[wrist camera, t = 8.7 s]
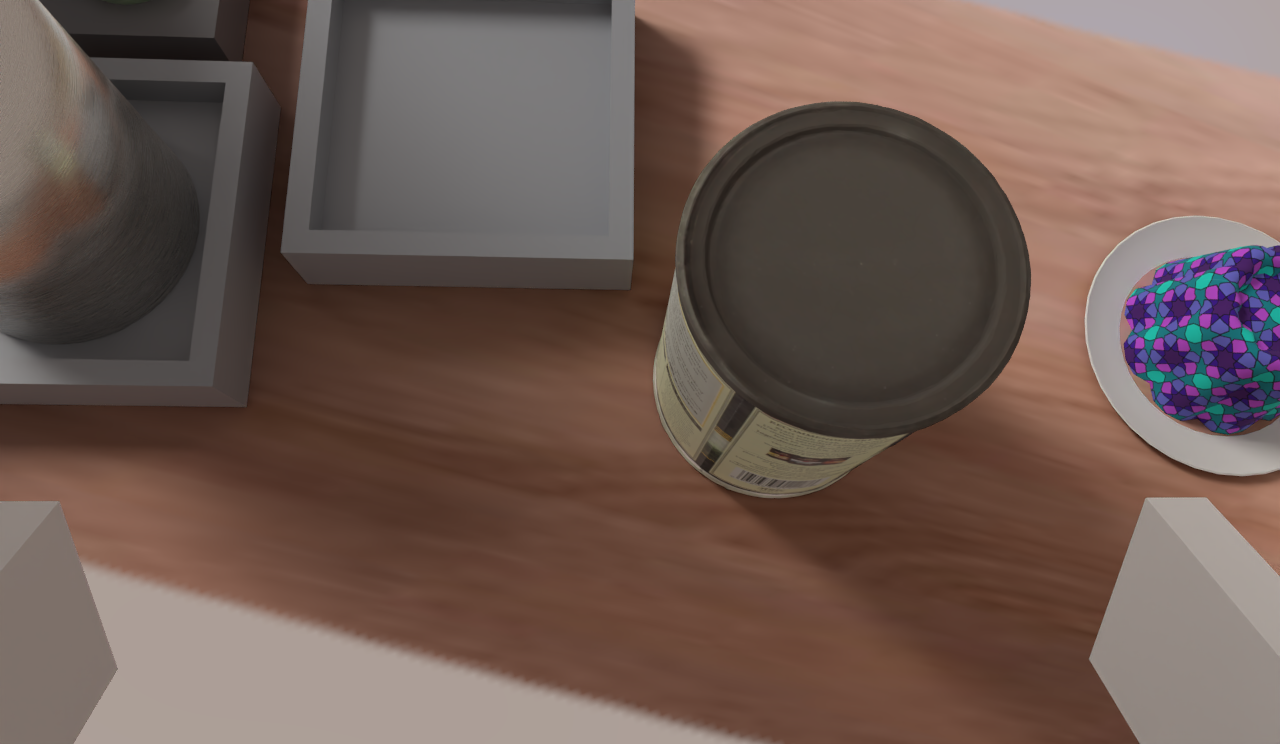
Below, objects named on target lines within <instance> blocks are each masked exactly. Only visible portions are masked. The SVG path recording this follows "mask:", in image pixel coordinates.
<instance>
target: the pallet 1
mask: <svg viewBox="0 0 1280 744" xmlns="http://www.w3.org/2000/svg"><path fill="white" fill-rule="evenodd" d="M90 59H91V60H92V61H93V62H94V63H95V64H96V65H97V67H98V68H99V69H100V70H101V71H102V72H103V73H104V74H105V76H106V77H107V78H108V79H109V80H110V81H111V82H112V83H113V85H114V86H115V87H116V88H117V89H118V90H119V91H120V92H121V94H122V95H123V96H124V97H125V98H126V99H127V100H128V102H129V103H130V104H131V105H132V106H133V107H134V108H135V109H136V111H137V112H138V113H139V114H140V115H141V116H142V117H143V118H144V120H145V121H146V122H147V123H148V124H149V125H150V126H151V128H152V129H153V130H154V131H155V132H156V133H157V134H158V135H159V137H160V138H161V139H162V140H163V141H164V142H165V143H166V144H167V146H168V147H169V148H170V149H171V150H172V151H173V152H174V154H175V155H176V156H177V157H178V158H179V160H180V161H181V162H182V164H183V165H184V166H185V168H186V170H187V171H188V173H189V175H190V177H191V179H192V182H193V184H194V187H195V189H196V193H197V198H198V203H199V214H200V222H199V233H198V238H197V242H196V246H195V250H194V252H193V255H192V257H191V260H190V263H189V264H188V266H187V268H186V270H185V272H184V274H183V276H182V277H181V279H180V280H179V281H178V283H177V284H176V286H175V287H174V288H173V290H172V291H171V292H170V293H169V294H168V295H167V296H166V297H165V298H164V300H163V301H162V302H161V303H159V304H158V305H157V306H156V307H155V308H154V309H153V310H151V311H150V312H149V313H148V314H146V315H145V316H143V317H142V318H140V319H139V320H137V321H136V322H134V323H133V324H131V325H129V326H127V327H125V328H123V329H121V330H119V331H117V332H114V333H112V334H109V335H107V336H104V337H101V338H97V339H93V340H90V341H86V342H79V343H72V344H44V343H35V342H30V341H26V340H22V339H18V338H16V337H13V336H10V335H8V334H5V333H3V332H1V331H0V404H43V405H119V406H195V407H247V401H248V392H249V383H250V374H251V365H252V357H253V348H254V339H255V330H256V322H257V313H258V304H259V295H260V286H261V278H262V269H263V260H264V251H265V243H266V234H267V225H268V216H269V208H270V199H271V190H272V181H273V172H274V164H275V155H276V146H277V137H278V129H279V120H280V111H281V107H280V105H279V104H278V102H277V100H276V99H275V97H274V95H273V94H272V92H271V91H270V89H269V87H268V86H267V84H266V83H265V81H264V79H263V78H262V76H261V74H260V73H259V71H258V70H257V68H256V66H255V65H254V63H253V62H234V61H199V60H164V59H129V58H94V57H90Z"/></svg>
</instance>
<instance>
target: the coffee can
mask: <svg viewBox="0 0 1280 744" xmlns="http://www.w3.org/2000/svg"><path fill="white" fill-rule="evenodd" d="M675 267H676V268H675V273H674V278H673V283H672V288H671V293H670V298H669V302H668V307H667V311H666V317H665V322H664V326H663V331H662V336H661V338H660V341H659V344H658V347H657V351H656V355H655V360H654V370H653V388H654V396H655V402H656V406H657V410H658V413H659V416H660V419H661V423H662V425H663V427H664V429H665V431H666V432H667V434H668V436H669V437H670V439H671V441H672V443H673V444H674V446H675V447H676V448H677V450H678V451H679V452H680V453H681V455H682V456H683V457H684V458H685V459H686V460H687V461H688V462H689V463H690V464H691V465H692V466H693V467H694V468H695V469H696V470H697V471H699V472H700V473H701V474H703V475H704V476H706V477H707V478H708V479H710V480H712V481H713V482H715V483H717V484H719V485H721V486H723V487H725V488H726V489H729V490H732V491H736V492H739V493H742V494H746V495H750V496H756V497H762V498H788V497H796V496H801V495H805V494H809V493H812V492H815V491H819V490H821V489H823V488H825V487H827V486H829V485H831V484H833V483H834V482H836V481H838V480H839V479H841V478H842V477H844V476H845V475H846V474H848V473H849V472H850V471H851V470H852V469H854V468H856V467H857V466H859V465H861V464H862V463H864V462H865V461H867V460H869V459H870V458H872V457H873V456H875V455H877V454H878V453H880V452H882V451H884V450H885V449H887V448H888V447H891V446H893V445H895V444H897V443H898V442H900V441H901V440H903V439H904V438H906V437H907V436H909V435H910V434H912V433H913V432H915V431H917V430H920V429H923V428H926V427H928V426H931V425H933V424H935V423H937V422H939V421H942V420H944V419H946V418H947V417H949V416H951V415H952V414H954V413H956V412H958V411H959V410H961V409H963V408H964V407H965V406H967V405H968V404H969V403H971V402H972V401H973V400H975V399H976V398H977V397H978V396H979V395H980V394H982V393H983V392H984V391H985V390H986V389H987V388H989V386H990V385H991V384H992V383H993V382H994V381H995V379H996V378H997V377H998V376H999V375H1000V373H1001V372H1002V370H1003V369H1004V367H1005V366H1006V364H1007V363H1008V362H1009V360H1010V358H1011V356H1012V354H1013V352H1014V350H1015V348H1016V346H1017V344H1018V342H1019V339H1020V336H1021V333H1022V330H1023V328H1024V324H1025V320H1026V316H1027V312H1028V306H1029V299H1030V287H1031V269H1030V262H1029V254H1028V249H1027V245H1026V241H1025V237H1024V234H1023V231H1022V229H1021V225H1020V222H1019V220H1018V218H1017V216H1016V214H1015V211H1014V209H1013V207H1012V205H1011V203H1010V202H1009V200H1008V198H1007V196H1006V194H1005V193H1004V191H1003V190H1002V189H1001V187H1000V186H999V184H998V182H997V181H996V179H995V178H994V176H993V175H992V174H991V173H990V172H989V170H988V169H987V168H986V167H985V166H984V165H983V164H982V163H981V162H980V161H979V160H978V159H977V158H976V157H975V156H974V155H973V154H972V153H971V152H970V151H969V150H968V149H967V148H966V147H964V146H963V145H962V144H961V143H959V142H958V141H957V140H955V139H954V138H952V137H951V136H950V135H948V134H946V133H945V132H943V131H941V130H940V129H938V128H936V127H934V126H933V125H931V124H929V123H927V122H925V121H923V120H922V119H920V118H917V117H915V116H912V115H909V114H906V113H904V112H901V111H898V110H895V109H891V108H886V107H882V106H878V105H873V104H866V103H860V102H822V103H814V104H809V105H804V106H799V107H795V108H791V109H787V110H784V111H781V112H778V113H776V114H774V115H771V116H769V117H767V118H765V119H763V120H761V121H759V122H757V123H755V124H753V125H751V126H750V127H748V128H747V129H745V130H744V131H742V132H741V133H739V134H738V135H736V136H735V137H734V138H733V139H732V140H730V141H729V142H728V143H727V144H726V145H725V146H724V147H723V148H721V149H720V150H719V151H718V153H717V154H716V155H715V156H714V157H713V158H712V160H711V161H710V162H709V163H708V164H707V166H706V167H705V168H704V169H703V171H702V172H701V174H700V176H699V177H698V179H697V181H696V182H695V184H694V186H693V188H692V190H691V192H690V195H689V197H688V199H687V202H686V204H685V206H684V210H683V213H682V217H681V221H680V226H679V231H678V235H677V243H676V255H675Z"/></svg>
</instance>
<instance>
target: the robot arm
mask: <svg viewBox="0 0 1280 744" xmlns="http://www.w3.org/2000/svg"><path fill="white" fill-rule="evenodd" d="M1089 660H1090V662H1091V663H1092V665H1093V667H1094V668H1095V670H1096V672H1097V673H1098V675H1099V677H1100V678H1101V680H1102V682H1103V683H1104V685H1105V687H1106V688H1107V690H1108V692H1109V693H1110V695H1111V697H1112V698H1113V700H1114V702H1115V703H1116V705H1117V707H1118V708H1119V710H1120V712H1121V713H1122V715H1123V717H1124V718H1125V720H1126V722H1127V723H1128V725H1129V727H1130V728H1131V730H1132V732H1133V733H1134V735H1135V737H1136V738H1137V740H1138V742H1139V743H1140V744H1280V576H1279V575H1278V574H1277V573H1276V572H1275V571H1274V570H1273V569H1272V568H1271V566H1270V565H1269V564H1268V563H1267V562H1266V561H1265V560H1264V559H1263V558H1262V557H1261V556H1260V555H1259V554H1258V553H1257V551H1256V550H1255V549H1254V548H1253V547H1252V546H1251V545H1250V544H1249V543H1248V542H1247V541H1246V540H1245V539H1244V538H1243V536H1242V535H1241V534H1240V533H1239V532H1238V531H1237V530H1236V529H1235V528H1234V527H1233V526H1232V525H1231V524H1230V523H1229V521H1228V520H1227V519H1226V518H1225V517H1224V516H1223V515H1222V514H1221V513H1220V512H1219V511H1218V510H1217V509H1216V507H1215V506H1214V505H1213V504H1212V503H1211V502H1210V501H1209V500H1208V499H1207V498H1206V497H1205V498H1146V499H1145V501H1144V504H1143V507H1142V510H1141V513H1140V516H1139V518H1138V521H1137V524H1136V527H1135V530H1134V533H1133V535H1132V538H1131V541H1130V544H1129V547H1128V550H1127V553H1126V555H1125V558H1124V561H1123V564H1122V567H1121V570H1120V572H1119V575H1118V578H1117V581H1116V584H1115V587H1114V589H1113V592H1112V595H1111V598H1110V601H1109V604H1108V606H1107V609H1106V612H1105V615H1104V618H1103V621H1102V623H1101V626H1100V629H1099V632H1098V635H1097V638H1096V640H1095V643H1094V646H1093V649H1092V652H1091V655H1090V658H1089ZM117 669H118V668H117V665H116V663H115V660H114V657H113V654H112V651H111V648H110V645H109V642H108V640H107V637H106V634H105V631H104V628H103V626H102V622H101V619H100V617H99V614H98V611H97V608H96V605H95V602H94V599H93V597H92V594H91V591H90V588H89V585H88V582H87V579H86V576H85V574H84V571H83V568H82V565H81V562H80V559H79V556H78V553H77V551H76V548H75V545H74V542H73V539H72V536H71V533H70V531H69V528H68V525H67V522H66V519H65V516H64V513H63V510H62V508H61V505H60V502H59V501H0V744H73V743H74V742H75V740H76V738H77V737H78V735H79V733H80V732H81V730H82V728H83V727H84V725H85V723H86V722H87V720H88V718H89V717H90V715H91V713H92V711H93V710H94V708H95V706H96V705H97V703H98V701H99V700H100V698H101V696H102V695H103V693H104V691H105V690H106V688H107V686H108V685H109V683H110V681H111V679H112V678H113V676H114V674H115V673H116V671H117Z"/></svg>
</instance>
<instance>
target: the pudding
mask: <svg viewBox="0 0 1280 744" xmlns="http://www.w3.org/2000/svg"><path fill="white" fill-rule="evenodd" d="M1187 257H1191V258H1187ZM1179 258H1187V259H1182V260H1178V261H1173V262H1169V263H1166V264H1165V265H1163V266H1162V267H1160V268H1159V269H1157V270H1156V272H1155V276H1154V279H1153V283H1152V285H1149V286H1146V287H1142V288H1138V289H1135V291H1134V292H1133V293H1132V295H1131V296H1130V297H1129V299H1128V300H1127V304H1126V310H1125V316H1126V318H1127V321H1128V323H1129V325H1130V327H1131V329H1132V332H1131V333H1130V335H1129V336H1128V338H1127V340H1126V341H1125V343H1124V350H1125V358H1126V361H1127V363H1128V365H1129V366H1130V368H1131V370H1132V372H1133V374H1135V375H1136V376H1138V377H1140V378H1142V379H1143V380H1145V381H1147V382H1148V383H1150V387H1151V392H1152V396H1153V401H1154V402H1155V403H1156V404H1157V405H1158V406H1159V407H1160V408H1161V409H1162V410H1163V411H1164V413H1166V414H1168V415H1170V416H1172V417H1174V418H1176V419H1178V420H1180V421H1183V420H1190V419H1199V420H1200V421H1201V422H1202V423H1203V424H1204V425H1205V426H1206V427H1207V428H1208V429H1209V430H1211V431H1212V432H1217V433H1222V434H1227V435H1229V434H1233V433H1238V432H1242V431H1244V430H1245V429H1247V428H1248V427H1250V426H1251V425H1252V424H1254V423H1255V422H1256V421H1258V420H1259V419H1262V420H1272V419H1273V418H1275V417H1277V416H1278V415H1280V242H1278V241H1277V240H1275V239H1273V238H1272V237H1270V236H1268V235H1267V234H1265V233H1263V232H1261V231H1259V230H1256V229H1254V228H1251V227H1249V226H1247V225H1244V224H1242V223H1238V222H1234V221H1230V220H1226V219H1222V218H1218V217H1207V216H1184V217H1173V218H1170V219H1166V220H1162V221H1158V222H1154V223H1152V224H1150V225H1148V226H1146V227H1143V228H1141V229H1139V230H1137V231H1135V232H1134V233H1132V234H1131V235H1130V236H1128V237H1127V238H1125V239H1124V240H1123V241H1121V242H1120V243H1119V244H1118V245H1117V246H1116V247H1115V248H1114V249H1113V250H1112V251H1111V253H1110V254H1109V255H1108V256H1107V257H1106V258H1105V259H1104V261H1103V263H1102V265H1101V266H1100V268H1099V270H1098V271H1097V273H1096V275H1095V277H1094V279H1093V282H1092V285H1091V288H1090V291H1089V294H1088V297H1087V305H1086V312H1085V335H1086V344H1087V348H1088V353H1089V357H1090V362H1091V365H1092V367H1093V370H1094V372H1095V375H1096V377H1097V380H1098V382H1099V384H1100V387H1101V388H1102V390H1103V392H1104V393H1105V395H1106V397H1107V398H1108V400H1109V401H1110V403H1111V405H1112V406H1113V408H1114V409H1115V410H1116V411H1117V413H1118V414H1119V415H1120V416H1121V417H1122V419H1123V420H1124V421H1125V422H1126V423H1127V424H1128V426H1129V427H1130V428H1131V429H1132V430H1134V431H1135V432H1136V433H1137V434H1138V435H1139V436H1141V437H1142V438H1143V439H1144V440H1145V441H1146V442H1147V443H1149V444H1150V445H1151V446H1153V447H1155V448H1156V449H1158V450H1159V451H1161V452H1162V453H1164V454H1166V455H1167V456H1169V457H1170V458H1172V459H1175V460H1177V461H1179V462H1182V463H1184V464H1186V465H1188V466H1191V467H1193V468H1196V469H1200V470H1204V471H1208V472H1212V473H1216V474H1222V475H1234V476H1249V475H1259V474H1267V473H1270V472H1274V471H1277V470H1280V417H1279V418H1278V419H1277V420H1276V421H1274V422H1273V423H1272V424H1270V425H1268V426H1266V427H1264V428H1262V429H1261V430H1259V431H1255V432H1252V433H1248V434H1245V435H1237V436H1216V435H1209V434H1205V433H1201V432H1197V431H1194V430H1192V429H1189V428H1187V427H1185V426H1182V425H1180V424H1178V423H1177V422H1175V421H1173V420H1172V419H1170V418H1169V417H1167V416H1165V415H1164V414H1163V413H1162V412H1160V411H1159V410H1158V409H1157V408H1156V407H1155V406H1154V405H1152V404H1151V403H1150V402H1149V400H1148V399H1147V398H1146V397H1145V396H1144V395H1143V393H1142V392H1141V391H1140V390H1139V388H1138V387H1137V385H1136V383H1135V382H1134V380H1133V379H1132V377H1131V375H1130V373H1129V371H1128V368H1127V366H1126V364H1125V361H1124V358H1123V354H1122V350H1121V345H1120V332H1119V327H1120V319H1121V312H1122V309H1123V306H1124V303H1125V300H1126V298H1127V297H1128V295H1129V293H1130V291H1131V290H1132V288H1133V286H1134V285H1135V284H1136V283H1137V282H1138V281H1139V280H1140V279H1141V277H1142V276H1144V275H1145V274H1146V273H1148V272H1149V271H1150V270H1152V269H1153V268H1155V267H1157V266H1159V265H1161V264H1163V263H1165V262H1168V261H1171V260H1175V259H1179Z"/></svg>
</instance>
